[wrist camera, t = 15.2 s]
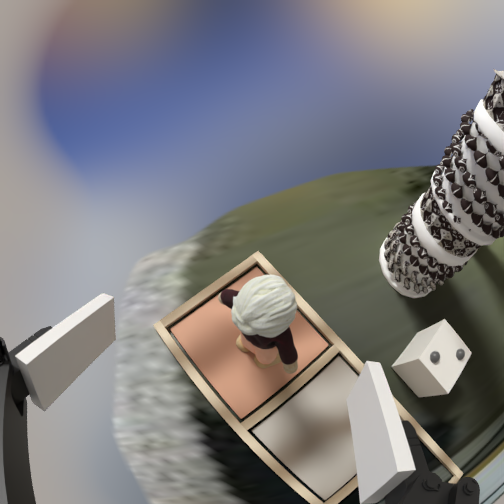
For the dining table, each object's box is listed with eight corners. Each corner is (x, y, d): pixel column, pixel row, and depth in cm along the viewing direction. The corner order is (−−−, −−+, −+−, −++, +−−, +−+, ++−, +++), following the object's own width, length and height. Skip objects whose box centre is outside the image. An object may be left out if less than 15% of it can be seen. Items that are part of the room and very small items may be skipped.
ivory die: (442, 362, 23) (475, 351, 18) (418, 397, 22) (452, 393, 17) (417, 332, 25) (448, 317, 20) (391, 366, 23) (422, 357, 19)
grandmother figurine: (302, 349, 24) (355, 306, 13) (278, 383, 23) (316, 372, 11) (233, 302, 26) (229, 226, 15) (208, 334, 24) (181, 279, 13)
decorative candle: (360, 258, 29) (486, 44, 7) (401, 219, 32) (499, 51, 10) (414, 317, 26) (597, 159, 4) (448, 269, 29) (576, 127, 7)
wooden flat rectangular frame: (460, 472, 16) (463, 473, 16) (383, 553, 12) (385, 555, 12) (257, 253, 29) (258, 250, 28) (155, 326, 25) (153, 325, 24)
